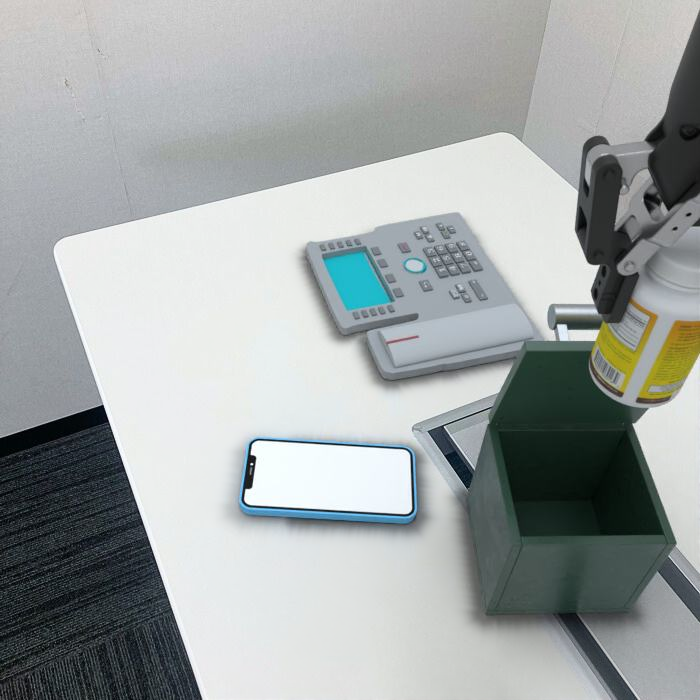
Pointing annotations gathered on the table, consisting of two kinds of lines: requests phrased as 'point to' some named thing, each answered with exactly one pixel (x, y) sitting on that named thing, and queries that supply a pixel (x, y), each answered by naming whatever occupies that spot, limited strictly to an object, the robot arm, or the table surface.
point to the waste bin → (565, 519)
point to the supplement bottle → (654, 330)
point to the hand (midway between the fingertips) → (661, 312)
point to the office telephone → (421, 296)
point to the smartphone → (329, 480)
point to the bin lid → (559, 378)
